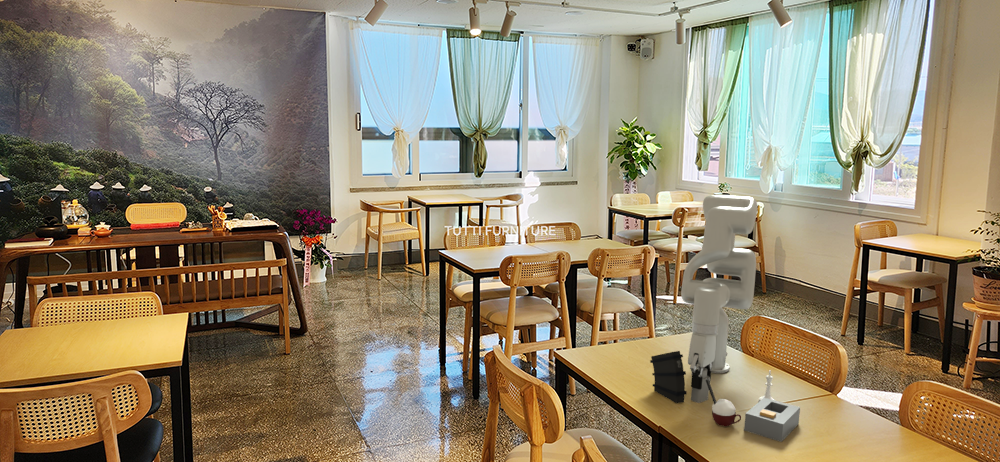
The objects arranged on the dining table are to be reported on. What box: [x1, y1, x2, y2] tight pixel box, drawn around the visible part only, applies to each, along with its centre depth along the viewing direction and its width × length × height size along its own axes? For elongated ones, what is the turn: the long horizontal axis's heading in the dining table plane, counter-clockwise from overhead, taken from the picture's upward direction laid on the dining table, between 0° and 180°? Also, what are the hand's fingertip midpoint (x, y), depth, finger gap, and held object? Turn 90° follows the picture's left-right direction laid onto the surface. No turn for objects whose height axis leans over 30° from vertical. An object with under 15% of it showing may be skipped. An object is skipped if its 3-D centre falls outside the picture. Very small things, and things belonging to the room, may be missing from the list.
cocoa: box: [706, 378, 742, 427], centre depth 187 cm, size 10×6×12 cm
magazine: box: [649, 350, 687, 404], centre depth 206 cm, size 4×13×15 cm, turn 26°
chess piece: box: [758, 369, 777, 402], centre depth 204 cm, size 5×5×10 cm
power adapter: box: [690, 367, 711, 404], centre depth 204 cm, size 3×5×12 cm, turn 128°
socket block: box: [743, 398, 801, 443], centre depth 186 cm, size 15×10×6 cm, turn 140°
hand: (700, 384), depth 204 cm, fingers closed on power adapter, 5 cm apart
